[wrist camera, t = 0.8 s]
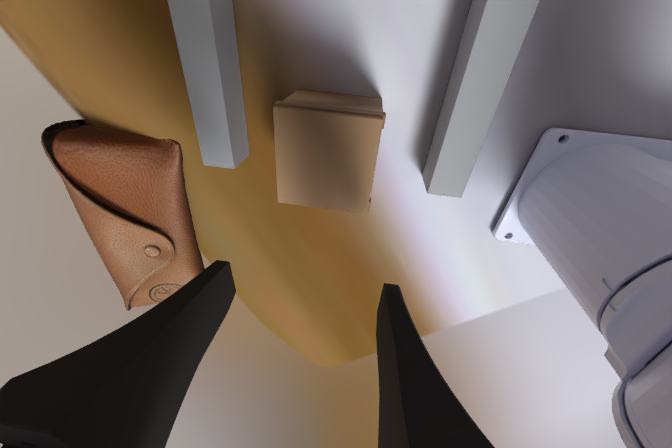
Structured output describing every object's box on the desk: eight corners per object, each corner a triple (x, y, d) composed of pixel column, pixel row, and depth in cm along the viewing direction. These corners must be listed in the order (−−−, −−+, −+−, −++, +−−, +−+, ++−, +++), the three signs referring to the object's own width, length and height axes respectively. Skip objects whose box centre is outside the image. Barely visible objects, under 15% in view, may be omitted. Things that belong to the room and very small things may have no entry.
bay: (609, -260, 9) (694, -369, 7) (452, 179, 18) (463, 202, 16) (149, -274, 10) (73, -374, 7) (222, 151, 19) (199, 168, 17)
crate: (383, 96, 16) (386, 117, 12) (370, 176, 19) (368, 215, 15) (297, 86, 16) (270, 104, 12) (297, 167, 19) (276, 203, 15)
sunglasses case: (218, 301, 29) (152, 345, 25) (184, 268, 33) (119, 302, 28) (180, 134, 19) (53, 157, 14) (134, 110, 22) (19, 123, 18)
